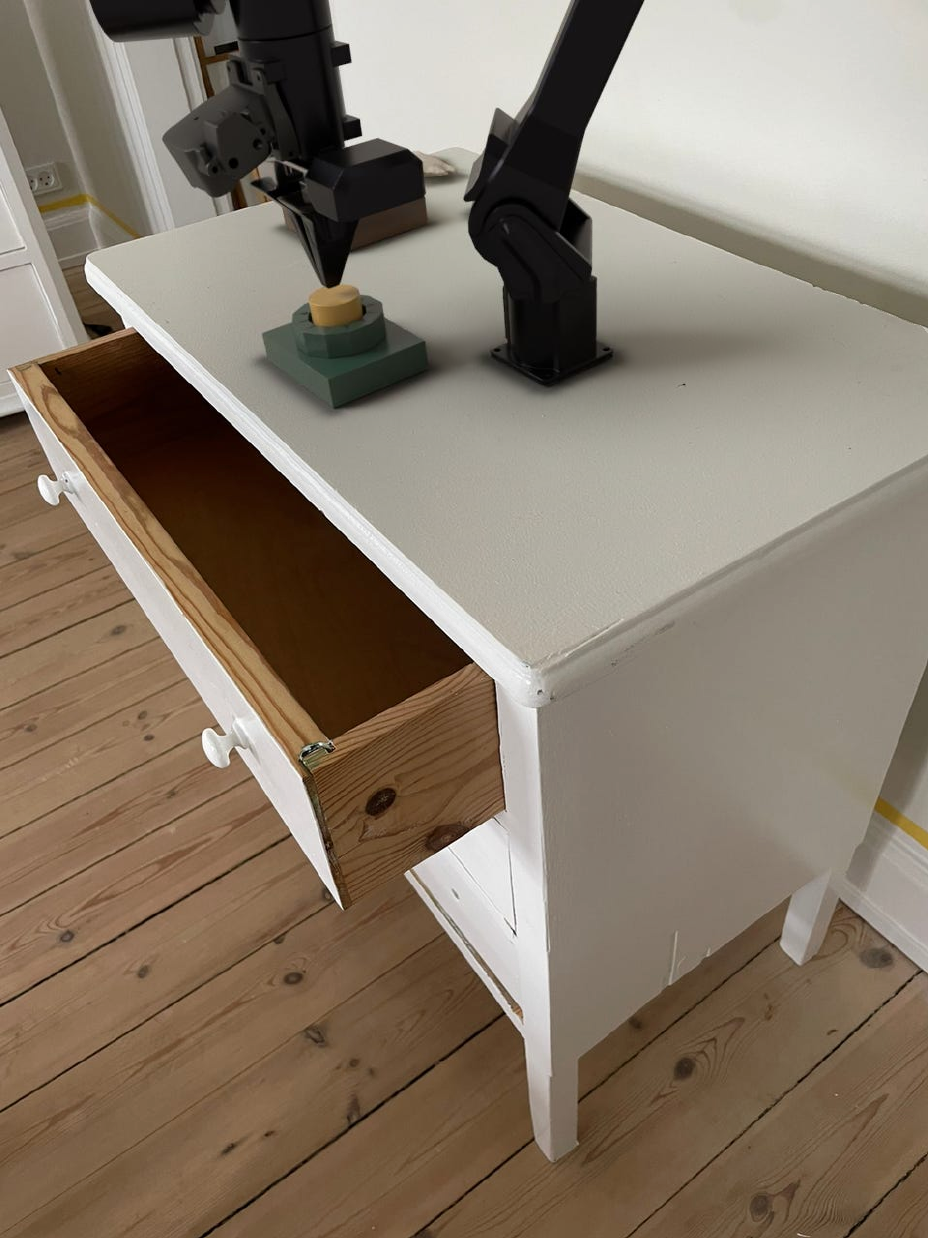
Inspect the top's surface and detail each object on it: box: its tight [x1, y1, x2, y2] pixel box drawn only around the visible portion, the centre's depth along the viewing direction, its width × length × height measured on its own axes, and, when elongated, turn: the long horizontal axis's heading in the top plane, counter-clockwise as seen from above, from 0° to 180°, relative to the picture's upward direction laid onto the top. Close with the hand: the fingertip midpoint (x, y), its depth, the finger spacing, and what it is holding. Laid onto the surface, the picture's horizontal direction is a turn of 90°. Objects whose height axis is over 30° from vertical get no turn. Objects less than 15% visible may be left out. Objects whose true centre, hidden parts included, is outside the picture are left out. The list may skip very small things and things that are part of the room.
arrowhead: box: [411, 150, 459, 178], centre depth 103 cm, size 7×2×10 cm
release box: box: [261, 294, 429, 409], centre depth 70 cm, size 10×8×4 cm
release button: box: [308, 283, 363, 327], centre depth 69 cm, size 4×4×2 cm
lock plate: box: [281, 195, 429, 251], centre depth 92 cm, size 10×10×3 cm
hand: (331, 285), depth 68 cm, fingers closed
